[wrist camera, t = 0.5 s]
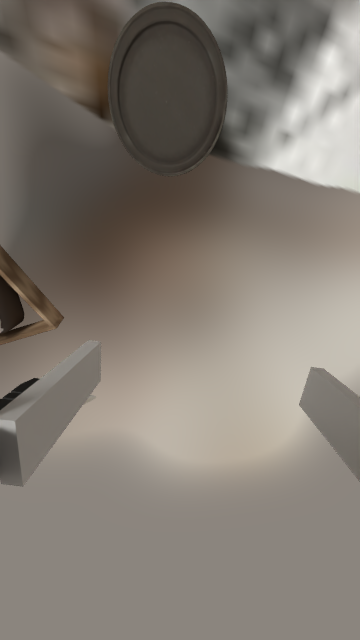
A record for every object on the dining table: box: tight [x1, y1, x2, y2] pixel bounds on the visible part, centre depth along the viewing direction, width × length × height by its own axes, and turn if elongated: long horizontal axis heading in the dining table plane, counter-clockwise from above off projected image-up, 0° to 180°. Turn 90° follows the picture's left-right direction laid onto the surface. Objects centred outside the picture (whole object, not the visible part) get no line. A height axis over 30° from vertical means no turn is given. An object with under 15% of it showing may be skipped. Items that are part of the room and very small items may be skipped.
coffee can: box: [108, 2, 227, 176], centre depth 23 cm, size 10×10×14 cm
